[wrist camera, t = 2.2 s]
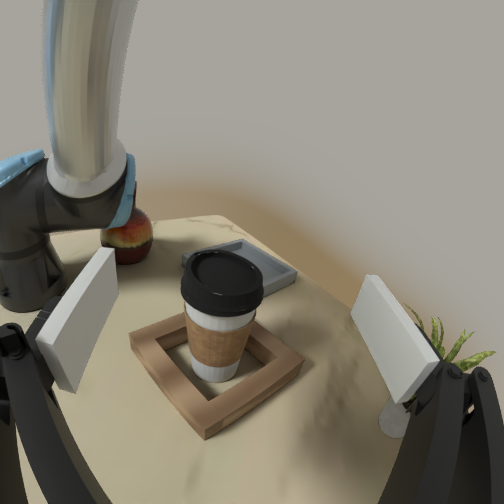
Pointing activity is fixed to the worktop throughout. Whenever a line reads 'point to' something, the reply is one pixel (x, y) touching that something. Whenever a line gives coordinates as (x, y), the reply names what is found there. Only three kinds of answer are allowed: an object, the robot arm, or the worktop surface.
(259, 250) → the tray
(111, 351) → the worktop surface
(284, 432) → the worktop surface
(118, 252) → the vase
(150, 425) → the worktop surface
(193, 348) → the coffee cup
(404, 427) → the house plant
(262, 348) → the square wooden frame
